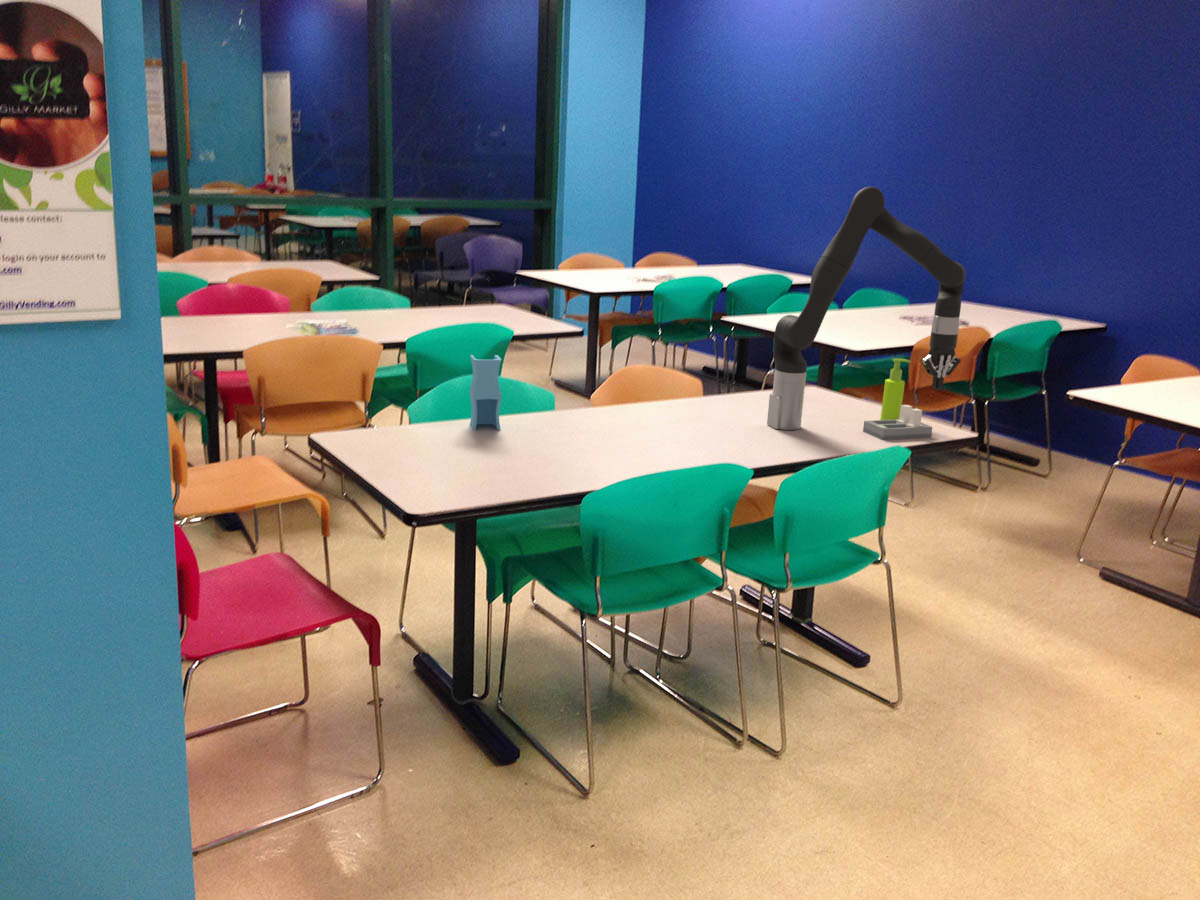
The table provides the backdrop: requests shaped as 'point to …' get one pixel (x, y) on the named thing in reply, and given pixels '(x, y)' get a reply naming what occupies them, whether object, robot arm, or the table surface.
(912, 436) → the switch bank
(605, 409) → the table surface
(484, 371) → the notched blue pillar
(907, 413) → the tab
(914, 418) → the tab
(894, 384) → the soap dispenser
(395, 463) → the table surface
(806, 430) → the table surface
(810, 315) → the robot arm
